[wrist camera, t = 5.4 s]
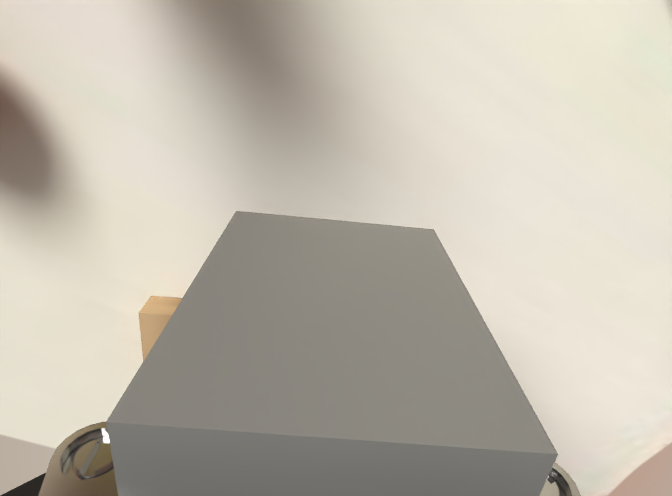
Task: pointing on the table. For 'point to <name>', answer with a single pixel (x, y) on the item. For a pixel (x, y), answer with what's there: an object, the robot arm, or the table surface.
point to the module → (326, 375)
